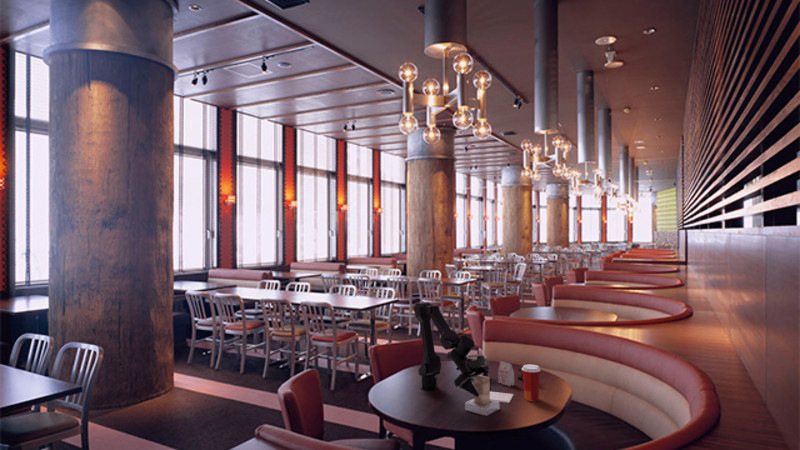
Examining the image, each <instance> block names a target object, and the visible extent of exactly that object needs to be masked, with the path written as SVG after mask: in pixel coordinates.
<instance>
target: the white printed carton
mask: <svg viewBox="0 0 800 450" xmlns="http://www.w3.org/2000/svg"><path fill="white" fill-rule="evenodd" d="M500 383H501V384H500ZM497 384H500V385H503V386H506V385H507V387H512V386H515V371H514V369H513V365H512V364H511V363H509V362H504V361H499V365H498V368H497ZM511 385H512V386H511Z"/></svg>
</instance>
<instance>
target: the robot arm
mask: <svg viewBox="0 0 800 450" xmlns="http://www.w3.org/2000/svg"><path fill="white" fill-rule="evenodd" d="M413 311H414V316H415V319H416V320H418V321H417V322H419V325H420V333H421V341H422V347H423V355H422V359H421V366H420V367H419V368H418V370H417V371H418V375H419V376H421V387H420V389H421V390H425V391H436V389H437V388H438V387H439V378H438V376H437V375H440V373H441V369H442V361H441V356H440V355H438V354H437V353H436V351H435V346H434V345H435V343H434V338H433V332H432V323H431V320H432V322H433V324H434V326H435V328H436V330H437V331H438V333H439V335H440V338H439V339H440V343H441V346H442V347H443V349H444V350H447V351H448V350H450V351H448V352H447V357H446V358H447V359H448V360H450V359H451V360H452V362H453V363H454V365H455V366H456V368H455V369H456V371H460V374H459V375H458V376H457V377H456V378H455V379H454V381H453V383H454V385H455V387H456V388H459V389H462V390H464V391H466V392H467V393H470V394H472V395H473V396H474V395H475V396H476V397H478V396H479V394H478V392H477V390H476V389H475V387H474V383H473V382H472V381H473V379H472V378H473V377H477V376H479V375H482V376H486V377H489V376H488V375H489V373H490V367H489V366H488V364H487V365H485V363H484V362H485V360H486V359H485V358H484V357H483V356H482V355H483V354H480V356H478V357H477V359H476V360H474V361H473V360H472V359H471V358H470V359H468V358H467V355H470V353H471V351H472V350H473V349H474V347H475V341H474V340H473V339H471V338H470V337H468V336H467V335H466V334H464V335H463V334H462V335H461V336H460V337H459V335H458V334H457V332H456V331H454V330H453V329H451V328H450V326H449V325H448V322H447V321H446V319H445V317H444V316H443V314H442V312H441V310H440V307H439V305H437V304H432V303H431V302H429V301H425V302H417V303H416V304H415V305H414V306H413ZM482 365H483V366H482ZM473 374H474V375H473ZM490 391H491V392H492V386H491V385H490Z"/></svg>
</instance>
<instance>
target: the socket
mask: <svg viewBox="0 0 800 450" xmlns="http://www.w3.org/2000/svg"><path fill="white" fill-rule="evenodd" d="M464 410H465V411H467V412H471V413H475V414H478V415H481V416H484V415H485V416H484V417H487V416H489V415H491V414H493V413H494V412H496V411H498V410H500V402H499V401H495V400H492V399H490V403H489V404H487V405H485V406H483V405H480V404H476V403H474V398H471V399H469V400H467V401H465V402H464Z"/></svg>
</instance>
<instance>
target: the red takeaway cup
mask: <svg viewBox="0 0 800 450" xmlns="http://www.w3.org/2000/svg"><path fill="white" fill-rule="evenodd" d="M522 367H523V366H518V368H517V369H518V371H519V372H520V374H517V379H518V380H522V381H523V382H524V380H523V370H522Z"/></svg>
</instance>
